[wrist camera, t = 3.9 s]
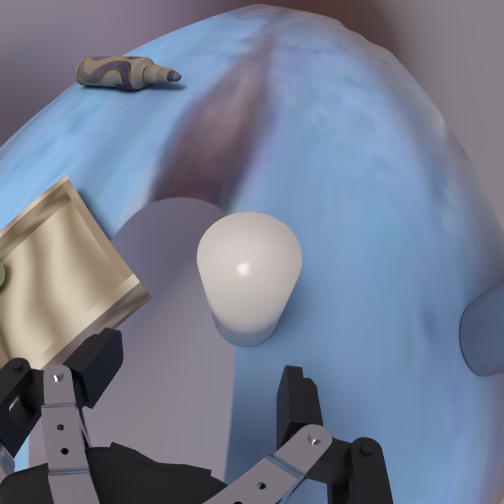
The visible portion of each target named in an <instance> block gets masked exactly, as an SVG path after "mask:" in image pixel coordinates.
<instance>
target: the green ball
mask: <svg viewBox="0 0 504 504" xmlns="http://www.w3.org/2000/svg"><path fill="white" fill-rule="evenodd" d="M4 279H5V269H4V266H3V264H2V262H1V261H0V287H1V286H2V284H3V282H4Z"/></svg>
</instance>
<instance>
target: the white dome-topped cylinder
mask: <svg viewBox="0 0 504 504" xmlns="http://www.w3.org/2000/svg"><path fill="white" fill-rule="evenodd" d="M197 264H198V268H199V272H200V275H201V279H202V282H203V285H204V289H205V293H206V296H207V299H208V302H209V306H210V309H211V312H212V315H213V319H214V322H215V325H216V328H217V330H218V332H219V333H220V335H221V336H222V337H223V338H224V339H225V340H226V341H228V342H229V343H231V344H233V345H236V346H240V347H253V346H256V345H259V344H261V343H263V342H264V341H266V340H267V339H268V338H269V337H270V336H271V335H272V333H273V332H274V330H275V328H276V326H277V323H278V321H279V319H280V317H281V315H282V313H283V310H284V308H285V306H286V304H287V302H288V299H289V297H290V295H291V293H292V290H293V288H294V286H295V284H296V281H297V279H298V277H299V274H300V272H301V268H302V250H301V247H300V244H299V242H298V239H297V238H296V236H295V235H294V233H293V232H292V231H291V230H290V228H289V227H287V226H286V225H285V224H284V223H283V222H281V221H280V220H278V219H276V218H274V217H272V216H269V215H266V214H263V213H258V212H240V213H235V214H231V215H229V216H226V217H224V218H222V219H220V220H218V221H217V222H215V223H214V224H213V225H212V226H211V227H210V228H209V229H208V230H207V231H206V232H205V234H204V235H203V237H202V239H201V241H200V244H199V247H198V251H197Z"/></svg>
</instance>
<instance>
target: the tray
mask: <svg viewBox="0 0 504 504" xmlns="http://www.w3.org/2000/svg"><path fill="white" fill-rule="evenodd" d="M0 261H1V262H2V264H3V266H4V269H5V279H4V282H3V284H2V286H1V287H0V369H1V368H2V367H3V366H4V365H5V364H6V363H7V362H8V361H9V360H11V359H13V358H17V357H21V358H24V359H26V360H28V362H29V363H30V366H31V368H33V369H38V370H44V371H45V370H46V369H47V368H48V367H49V366H52V365H56V364H60V365H62V364H63V363H64V361H65V360H66V359H67V358H68V357H69V356H70V355H71V354H72V353H73V352H74V351H75V350H76V349H77V348H78V347H79V346H80V345H81V344H82V342H83V341H84V340H85V339H86V338H88V337H90V336H92V335H94V334H98V335H99V333H100V332H101V331H102V330H103V329H104V328H106V327H108V328H111V329H115V328H116V327H117V326H119V325H120V324H121V323H122V322H123V321H125V320H126V319H127V318H128V317H129V316H130V315H132V314H133V313H134V312H135V311H136V310H138V309H139V308H140V307H141V306H142V305H143V304H144V303H146V302H147V301H148V300H149V299H151V296H150V294H149V293H148V292H147V290H146V289H145V288H144V286H143V285H142V284H141V283H140V281H139V280H138V279H137V278H136V276H135V275H134V273H133V272H132V271H131V270H130V268H129V267H128V266H127V264H126V263H125V261H124V260H123V259H122V257H121V256H120V255H119V253H118V252H117V251H116V249H115V248H114V246H113V245H112V244H111V242H110V241H109V239H108V238H107V237H106V235H105V234H104V232H103V231H102V229H101V228H100V226H99V225H98V224H97V222H96V221H95V219H94V218H93V216H92V215H91V213H90V212H89V210H88V209H87V207H86V205H85V204H84V202H83V201H82V199H81V198H80V196H79V194H78V193H77V191H76V190H75V188H74V186H73V185H72V183H71V181H70V180H69V178H68V176H67V175H66V176H64V177H63V178H62V179H60V180H59V181H58V182H57V183H55V184H54V185H53V186H51V187H50V188H49V189H48V190H46V191H45V192H44V193H43V194H42V195H40V196H39V197H38V198H37V199H36V200H34V201H33V202H32V203H31V204H30V205H29V206H27V207H26V208H25V209H24V210H23V211H22V212H21V213H19V214H18V215H17V216H16V217H15V218H14V219H13V220H12V221H11V222H10V223H9V224H8V225H7V226H6V227H5V228H3V229H2V230H1V231H0ZM17 400H18V398H16V399H15V400H14V401H13V404H15V403H16V402H17Z"/></svg>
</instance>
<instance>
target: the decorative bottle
mask: <svg viewBox="0 0 504 504" xmlns="http://www.w3.org/2000/svg"><path fill="white" fill-rule="evenodd" d="M75 79H76V81H77V83H79V84H80V85H95V86H109V87H116V88H118V89H120V90H140V89H142V88H145V87H147V86H148V85H152V84H155V83H159V82H162V83H170V82H172V81H174V82H176V81H177V82H178V81H179V80H180V79H181V75H180V74H179V73H178V72H176V71H174V70H173V69H171V68H163V67H161V66H159V65H154V62H153V61H152V60H151V59H150V58H148V57H136V56H135V57H132V56H114V57H113V56H109V57H106V56H105V57H102V56H101V57H87V58H85V59H83V60H82V61H81V62H80V63H79V64H78V65H77V67H76V69H75ZM149 83H151V84H149ZM119 87H120V88H119ZM121 88H122V89H121Z"/></svg>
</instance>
